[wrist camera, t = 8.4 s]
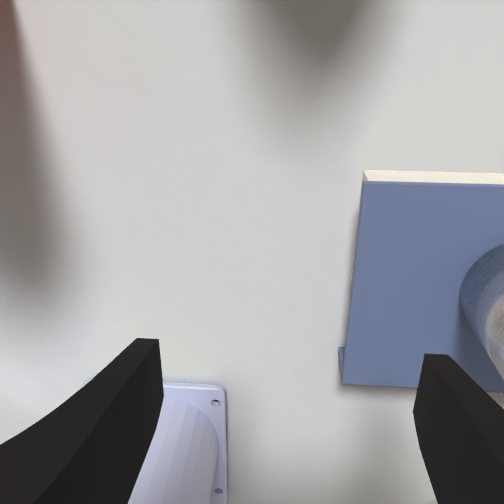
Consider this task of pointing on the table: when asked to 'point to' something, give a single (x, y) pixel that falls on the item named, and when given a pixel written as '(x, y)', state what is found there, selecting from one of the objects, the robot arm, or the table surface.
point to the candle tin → (486, 303)
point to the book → (418, 274)
